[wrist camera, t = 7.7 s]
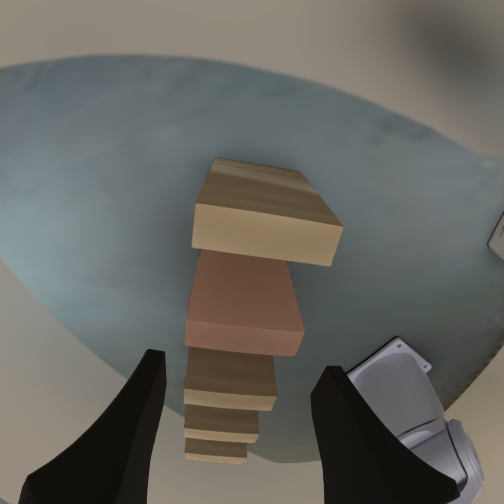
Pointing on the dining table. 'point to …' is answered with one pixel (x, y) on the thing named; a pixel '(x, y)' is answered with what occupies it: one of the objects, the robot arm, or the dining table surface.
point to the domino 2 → (243, 305)
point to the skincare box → (498, 239)
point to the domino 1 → (264, 214)
